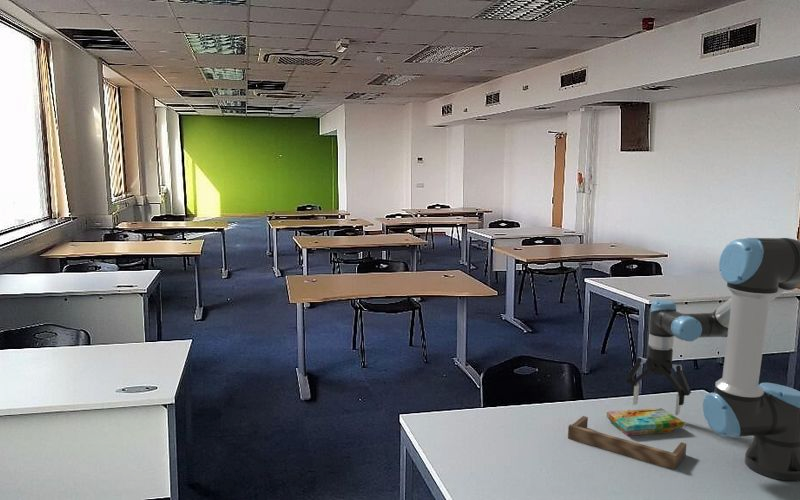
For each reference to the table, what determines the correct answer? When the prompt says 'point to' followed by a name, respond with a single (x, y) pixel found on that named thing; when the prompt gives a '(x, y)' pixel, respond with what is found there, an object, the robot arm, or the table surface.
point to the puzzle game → (644, 421)
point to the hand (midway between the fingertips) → (656, 408)
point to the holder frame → (625, 445)
